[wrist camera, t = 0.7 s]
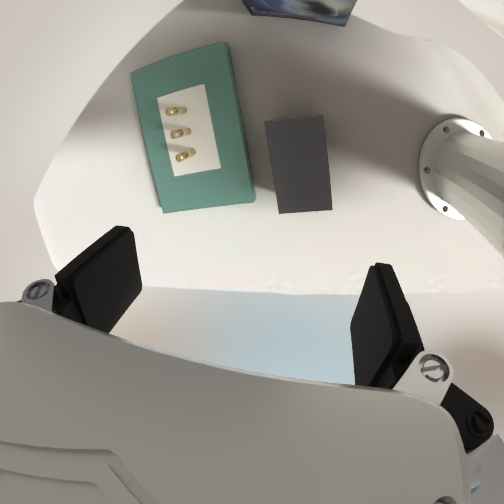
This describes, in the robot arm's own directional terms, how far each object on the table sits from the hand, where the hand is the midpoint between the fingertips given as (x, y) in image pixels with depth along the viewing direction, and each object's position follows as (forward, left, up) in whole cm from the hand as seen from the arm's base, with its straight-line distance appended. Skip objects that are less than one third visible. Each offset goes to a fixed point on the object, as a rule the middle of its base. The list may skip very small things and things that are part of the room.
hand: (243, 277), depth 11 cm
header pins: (+10, -6, -22) cm, 25 cm away
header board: (+10, -5, -23) cm, 26 cm away
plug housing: (-2, 0, -23) cm, 23 cm away
